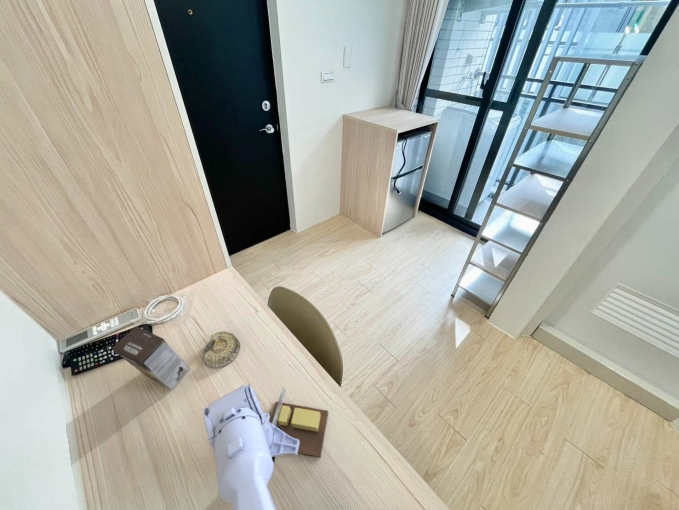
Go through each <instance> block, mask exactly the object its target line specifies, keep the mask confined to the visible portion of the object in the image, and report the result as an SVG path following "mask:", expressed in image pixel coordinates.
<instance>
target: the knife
mask: <svg viewBox="0 0 679 510" xmlns="http://www.w3.org/2000/svg"><path fill="white" fill-rule="evenodd" d="M286 392H287V391H286V388H285V387H284V386H282V388H281V391H280V395H279V398H278V401H277V402H278V405H277V408H276V412H275V415H274V419H273V422H272V424H273V425H275V426H276V424H277V420H278V417H279V413H280V410H281V406H282V403H284V399H285V395H286Z"/></svg>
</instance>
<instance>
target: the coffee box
mask: <svg viewBox="0 0 679 510" xmlns="http://www.w3.org/2000/svg"><path fill="white" fill-rule="evenodd" d="M111 350H112V351H114V352H115V353H116V354H117V355H119V357H121V358H122V359H123V360H125V361H126V362H128V363H129V364H130V365H131V366H132V367H134V368H135V369H136V370H138V371H139V372H140V373H141V374H143V375H144V376H145V377H146V378H148V379H150V380H151V381H154V382H156V383H157V384H159V385H161V386H163V387H165V388H167V389H169V390H170V391H173V390H174V389H175V388H176V387H177V386H178V385H179V383H180V382H181V381H182V380H183V378H184V377H185V376H186V375H187V374H188V373H189V371H190V370H191V368H190V366H188V364H187V363H186V362H185V361H184V360H183V359H182V358H181V356H180V355H179V354H178V353H177V352H176V351H175V349H173V347H172V346H171V344H169V343H168V342H167V341H166V339H165V338H163V337H161V336H159V335H156V334H154V333H152V332H151V331H148V330H145V329H143V328H141V327H139V326H135V327H134V328H132V329H131V330H130V331H129V332H128V333H127V334H125V336H123V337H122V338H121V339H119V341H118V342H117V343H115V344H114V346H113V347H112V348H111Z"/></svg>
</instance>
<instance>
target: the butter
mask: <svg viewBox="0 0 679 510" xmlns="http://www.w3.org/2000/svg"><path fill="white" fill-rule="evenodd" d="M320 417H321V415H320V412H317V411H312V410H306V409H300V408H295V409H294V413H293V417H292V421H291V424H292V426H293V427H295V428H301V429H306V430H311V431H317V432H318V428H319V423H320Z"/></svg>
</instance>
